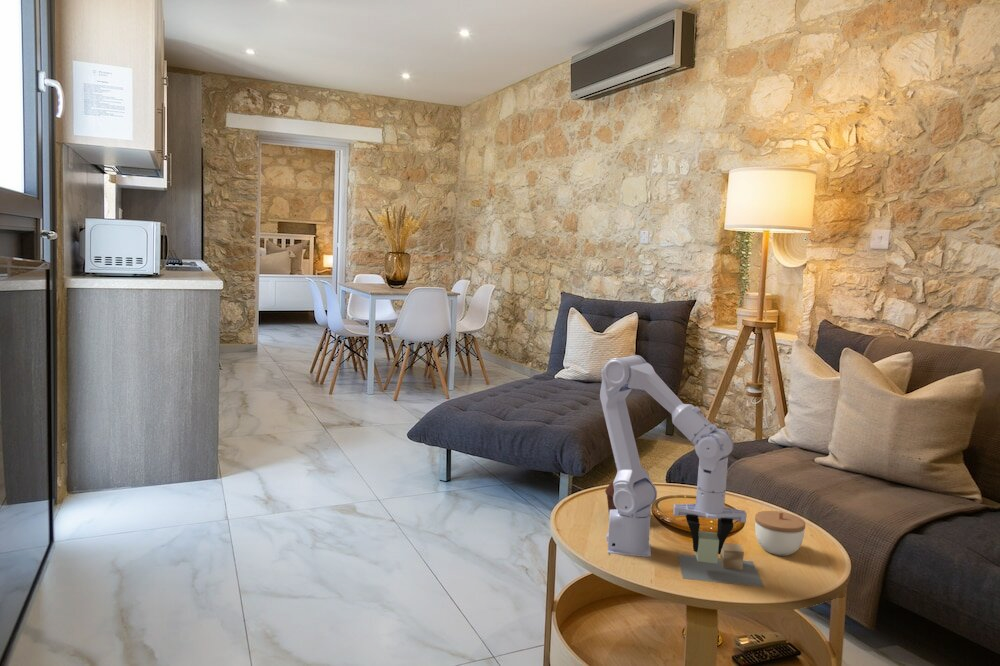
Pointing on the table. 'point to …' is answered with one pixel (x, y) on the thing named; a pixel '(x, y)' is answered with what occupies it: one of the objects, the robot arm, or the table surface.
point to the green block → (707, 547)
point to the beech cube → (732, 556)
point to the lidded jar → (779, 532)
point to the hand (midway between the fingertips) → (706, 550)
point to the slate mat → (718, 572)
